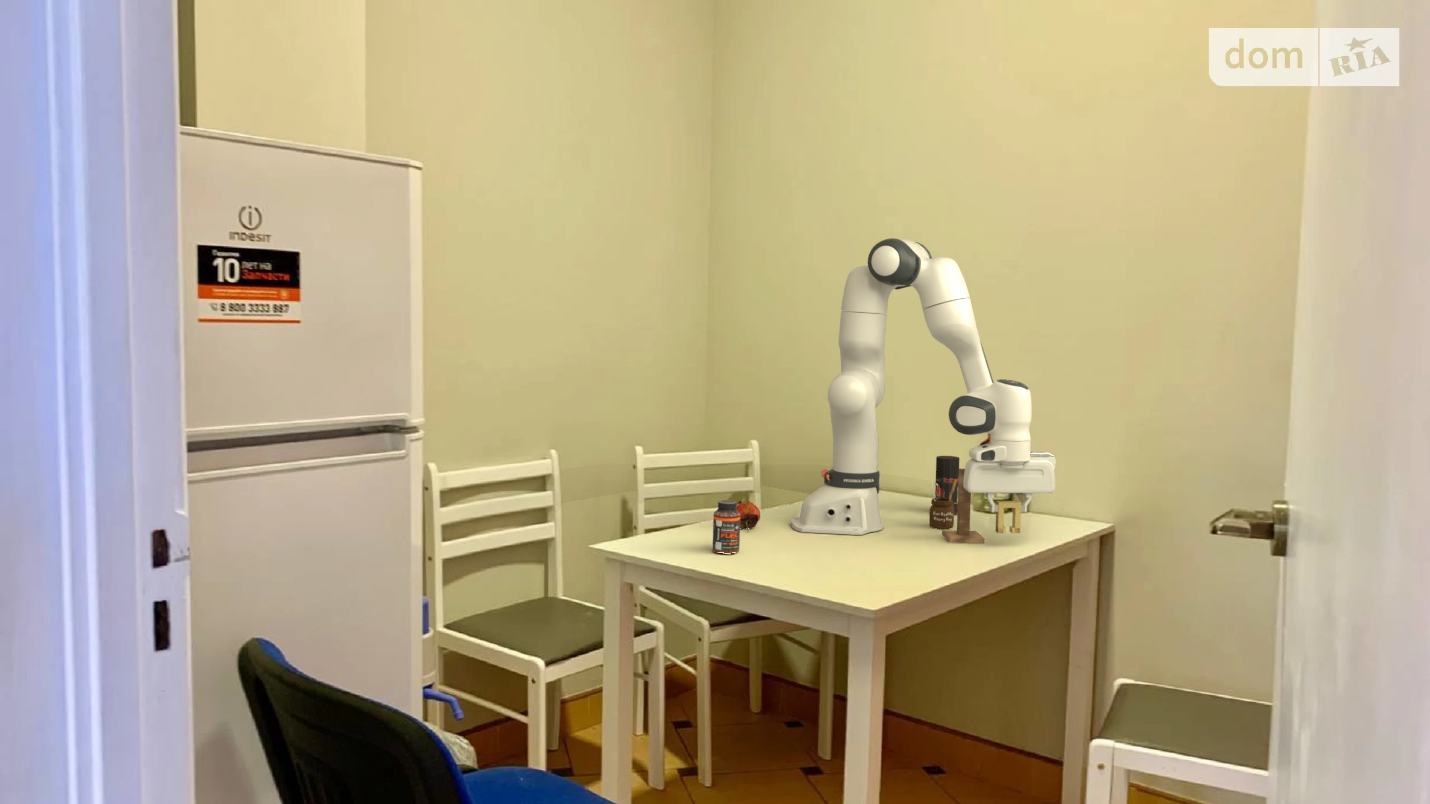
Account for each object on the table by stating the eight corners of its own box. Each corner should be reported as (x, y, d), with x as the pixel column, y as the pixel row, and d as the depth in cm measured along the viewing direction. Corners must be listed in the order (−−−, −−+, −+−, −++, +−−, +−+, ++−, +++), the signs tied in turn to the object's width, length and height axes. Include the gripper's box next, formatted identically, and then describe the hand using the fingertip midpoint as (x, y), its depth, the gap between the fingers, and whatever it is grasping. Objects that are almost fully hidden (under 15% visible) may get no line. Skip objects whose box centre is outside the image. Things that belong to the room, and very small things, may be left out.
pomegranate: (763, 540, 247) (758, 509, 255) (762, 520, 242) (757, 489, 250) (732, 543, 247) (728, 512, 254) (731, 524, 242) (727, 492, 249)
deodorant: (959, 516, 268) (961, 459, 267) (937, 515, 268) (938, 458, 267) (954, 511, 274) (956, 455, 272) (932, 511, 274) (934, 455, 273)
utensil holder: (926, 524, 257) (928, 477, 256) (951, 524, 257) (953, 477, 256) (931, 529, 251) (933, 481, 250) (957, 530, 251) (959, 481, 250)
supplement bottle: (720, 556, 222) (721, 505, 221) (707, 550, 227) (708, 500, 226) (744, 553, 224) (745, 502, 223) (731, 547, 230) (732, 498, 229)
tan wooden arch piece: (995, 531, 234) (996, 500, 234) (1017, 531, 234) (1018, 501, 234) (998, 533, 232) (998, 502, 232) (1020, 533, 232) (1020, 502, 232)
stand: (949, 542, 237) (952, 471, 236) (942, 535, 245) (944, 466, 243) (1012, 543, 237) (1015, 472, 236) (1002, 535, 245) (1005, 467, 244)
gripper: (1051, 450, 235) (1049, 509, 236) (962, 449, 235) (960, 509, 236) (1060, 453, 229) (1058, 515, 230) (969, 453, 228) (967, 514, 230)
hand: (1008, 512), depth 233 cm, fingers closed on tan wooden arch piece, 5 cm apart
